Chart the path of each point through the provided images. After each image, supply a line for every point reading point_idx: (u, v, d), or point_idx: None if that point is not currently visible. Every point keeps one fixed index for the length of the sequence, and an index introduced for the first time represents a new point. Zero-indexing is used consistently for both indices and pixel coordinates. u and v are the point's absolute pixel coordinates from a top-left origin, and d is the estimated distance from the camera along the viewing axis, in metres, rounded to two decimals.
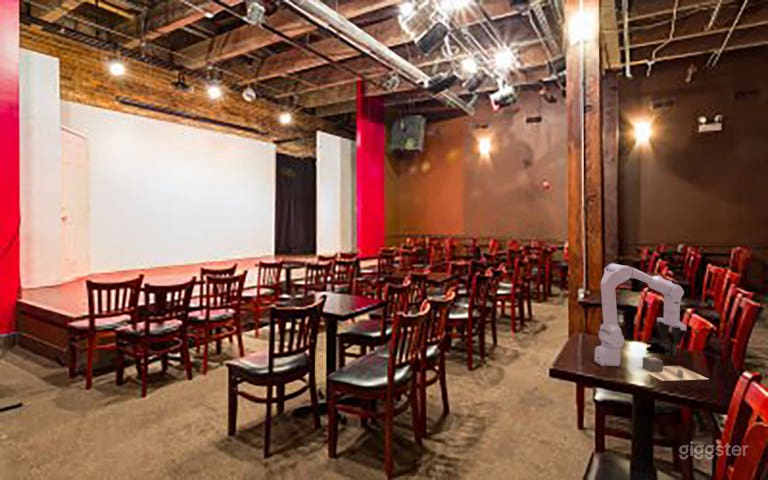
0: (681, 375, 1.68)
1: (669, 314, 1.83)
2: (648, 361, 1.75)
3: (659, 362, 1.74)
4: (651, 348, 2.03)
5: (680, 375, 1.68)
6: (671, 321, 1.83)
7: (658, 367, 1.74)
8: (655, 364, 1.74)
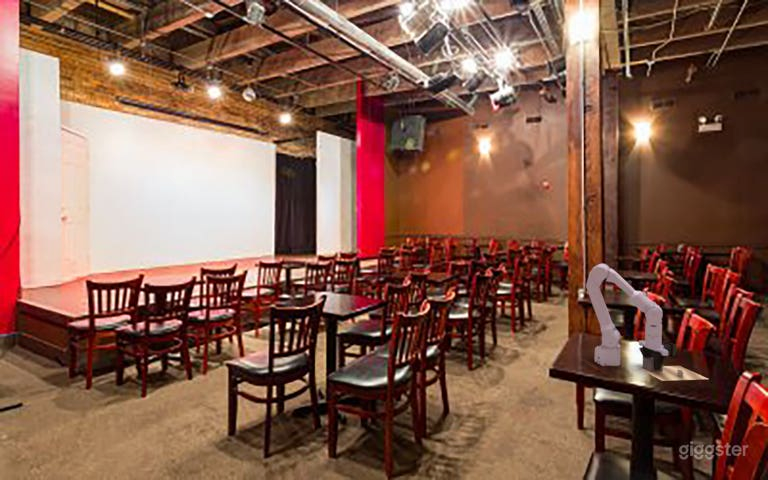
0: (681, 375, 1.68)
1: (650, 338, 1.74)
2: (648, 361, 1.75)
3: None
4: None
5: (680, 375, 1.68)
6: (653, 345, 1.74)
7: None
8: None
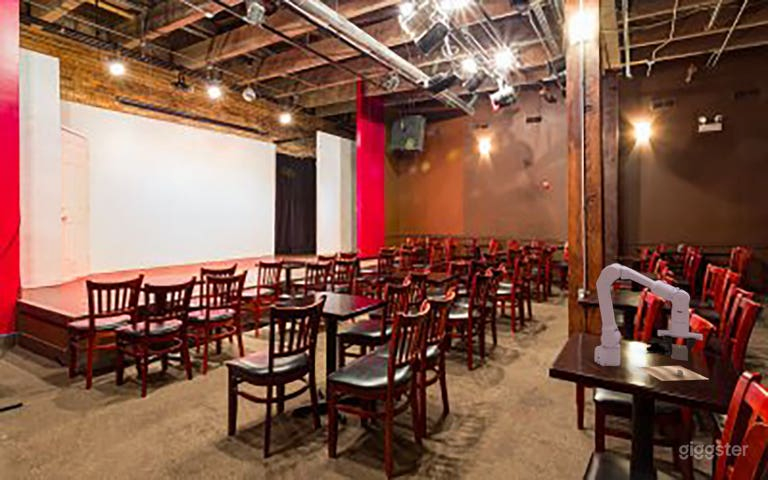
0: (681, 375, 1.68)
1: (685, 325, 1.66)
2: (683, 350, 1.67)
3: (686, 348, 1.69)
4: (651, 348, 2.03)
5: (680, 375, 1.68)
6: (687, 332, 1.67)
7: None
8: None
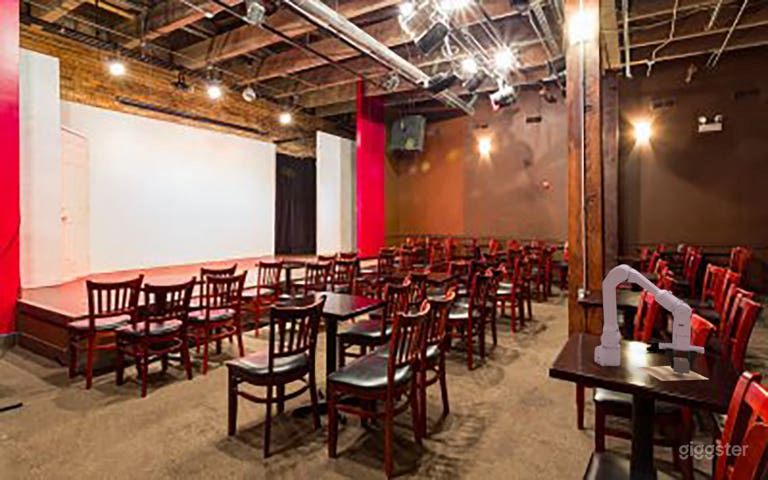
0: (681, 375, 1.68)
1: (687, 338, 1.66)
2: (684, 363, 1.67)
3: (687, 361, 1.69)
4: (651, 348, 2.03)
5: (680, 375, 1.68)
6: (689, 346, 1.67)
7: None
8: None
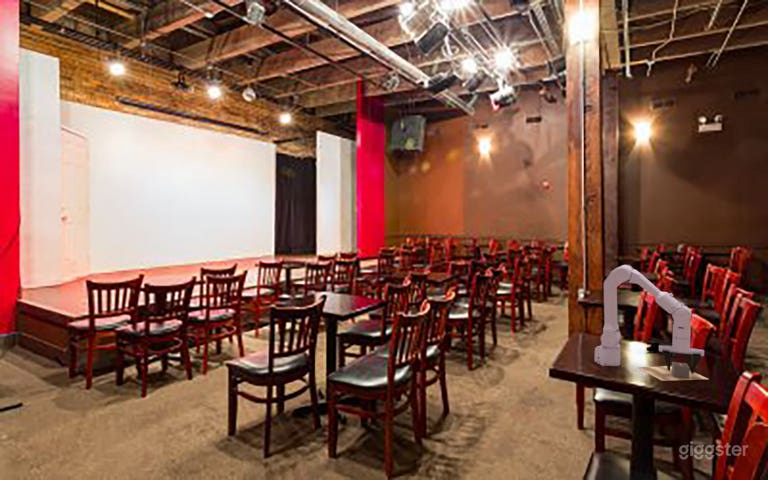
0: None
1: (687, 341, 1.66)
2: (684, 368, 1.67)
3: (687, 366, 1.69)
4: (651, 348, 2.03)
5: None
6: (688, 348, 1.67)
7: None
8: None
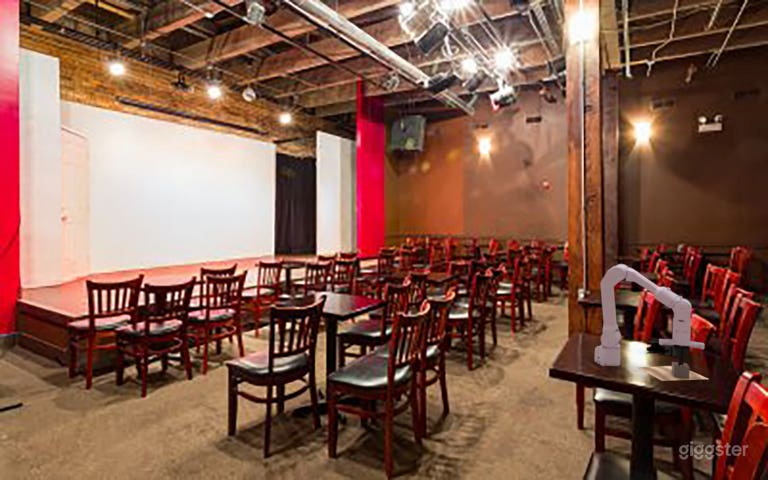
0: None
1: (687, 334, 1.66)
2: (684, 368, 1.67)
3: (687, 366, 1.69)
4: (651, 348, 2.03)
5: None
6: (689, 341, 1.66)
7: None
8: None
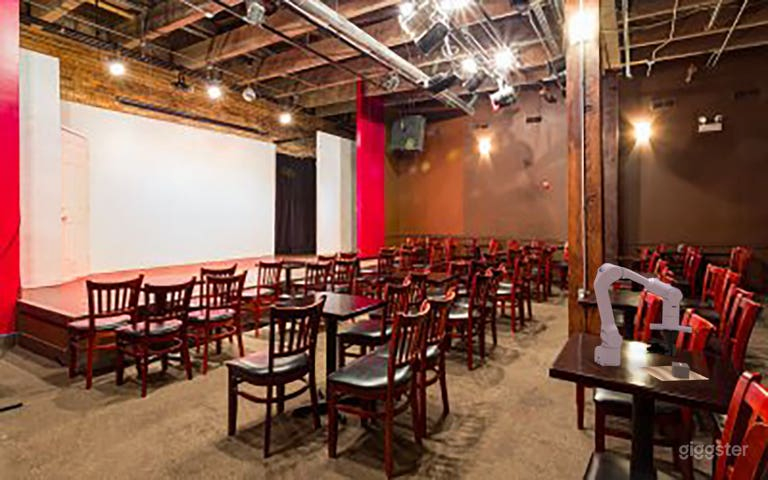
0: None
1: (676, 319, 1.77)
2: (684, 368, 1.67)
3: (687, 366, 1.69)
4: (651, 348, 2.03)
5: None
6: (677, 325, 1.78)
7: None
8: None
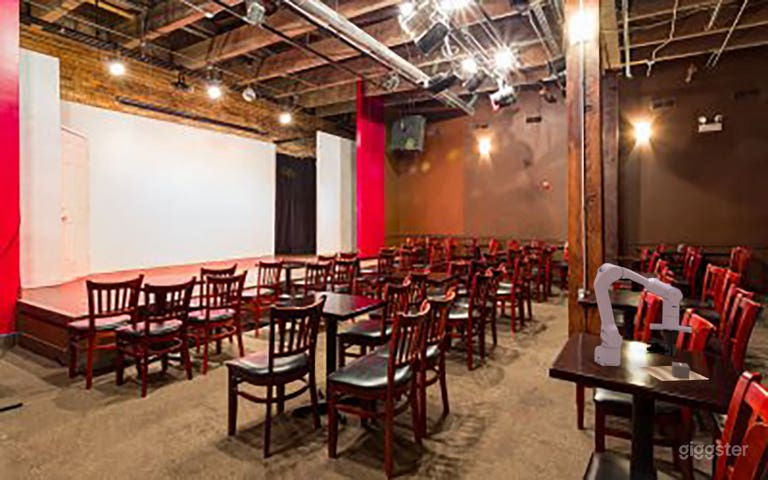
0: None
1: (676, 319, 1.77)
2: (684, 368, 1.67)
3: (687, 366, 1.69)
4: (651, 348, 2.03)
5: None
6: (677, 325, 1.78)
7: None
8: None
